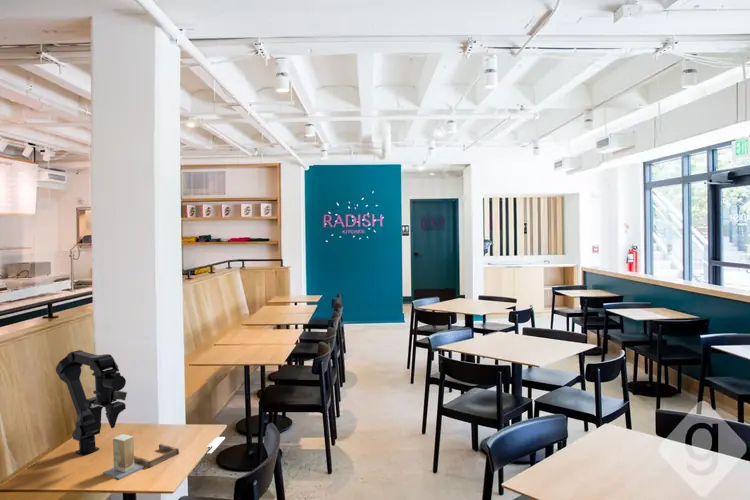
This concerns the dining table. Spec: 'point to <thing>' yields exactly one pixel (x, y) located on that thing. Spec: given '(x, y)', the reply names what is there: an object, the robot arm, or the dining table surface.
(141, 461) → the walnut cubby
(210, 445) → the white meat cleaver
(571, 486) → the dining table surface
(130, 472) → the slate coaster
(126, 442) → the skincare box
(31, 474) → the dining table surface
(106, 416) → the robot arm
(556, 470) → the dining table surface
